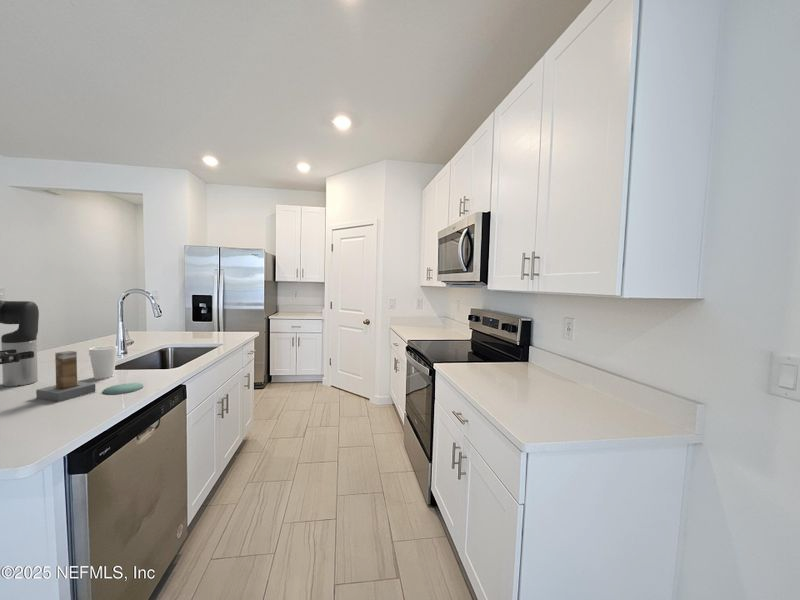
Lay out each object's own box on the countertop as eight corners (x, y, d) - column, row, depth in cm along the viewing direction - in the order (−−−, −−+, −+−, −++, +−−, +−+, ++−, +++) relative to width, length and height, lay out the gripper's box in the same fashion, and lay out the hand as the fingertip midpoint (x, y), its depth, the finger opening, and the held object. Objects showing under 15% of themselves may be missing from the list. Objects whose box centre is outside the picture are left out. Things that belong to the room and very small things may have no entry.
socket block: (36, 398, 117) (36, 389, 117) (74, 388, 128) (74, 380, 127) (58, 401, 114) (58, 393, 114) (95, 391, 125) (95, 383, 125)
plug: (56, 395, 119) (55, 352, 118) (69, 392, 123) (68, 350, 122) (64, 397, 118) (63, 353, 117) (77, 393, 122) (76, 351, 121)
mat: (103, 388, 129) (103, 386, 129) (142, 382, 137) (142, 381, 137) (103, 396, 120) (103, 395, 120) (144, 390, 128) (144, 388, 128)
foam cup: (106, 373, 148) (105, 345, 148) (123, 374, 147) (123, 346, 146) (83, 379, 139) (82, 349, 138) (101, 380, 138) (101, 350, 137)
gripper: (-38, 352, 91) (39, 343, 107) (-69, 349, 95) (9, 340, 111) (-37, 379, 92) (39, 366, 107) (-68, 374, 95) (10, 362, 111)
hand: (24, 353), depth 109 cm, fingers open, 8 cm apart
